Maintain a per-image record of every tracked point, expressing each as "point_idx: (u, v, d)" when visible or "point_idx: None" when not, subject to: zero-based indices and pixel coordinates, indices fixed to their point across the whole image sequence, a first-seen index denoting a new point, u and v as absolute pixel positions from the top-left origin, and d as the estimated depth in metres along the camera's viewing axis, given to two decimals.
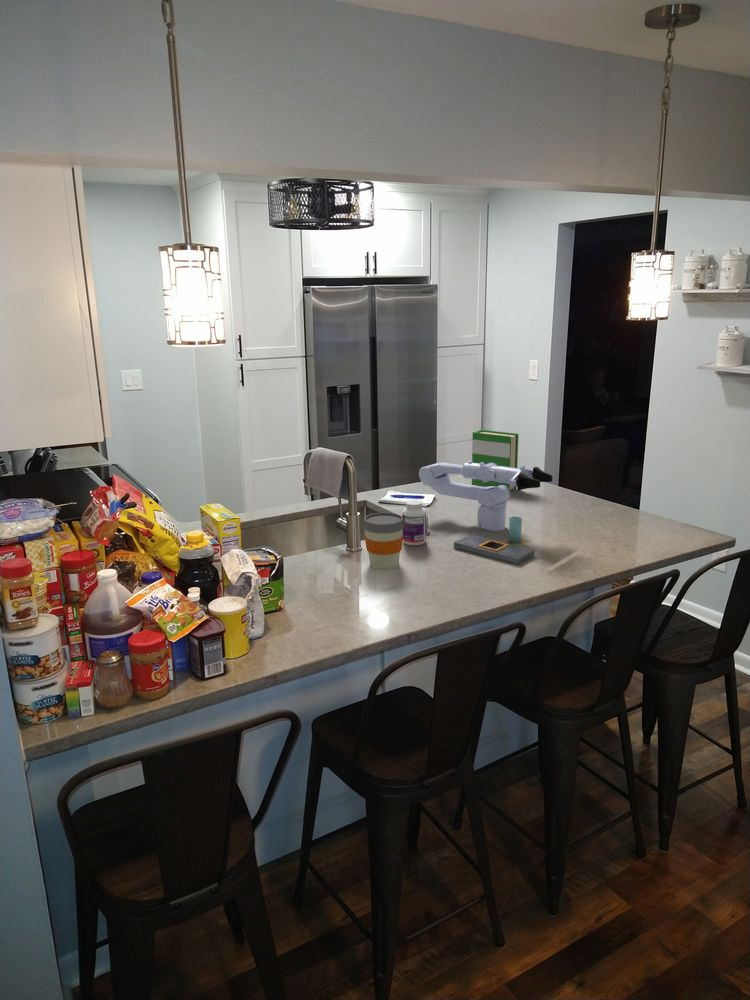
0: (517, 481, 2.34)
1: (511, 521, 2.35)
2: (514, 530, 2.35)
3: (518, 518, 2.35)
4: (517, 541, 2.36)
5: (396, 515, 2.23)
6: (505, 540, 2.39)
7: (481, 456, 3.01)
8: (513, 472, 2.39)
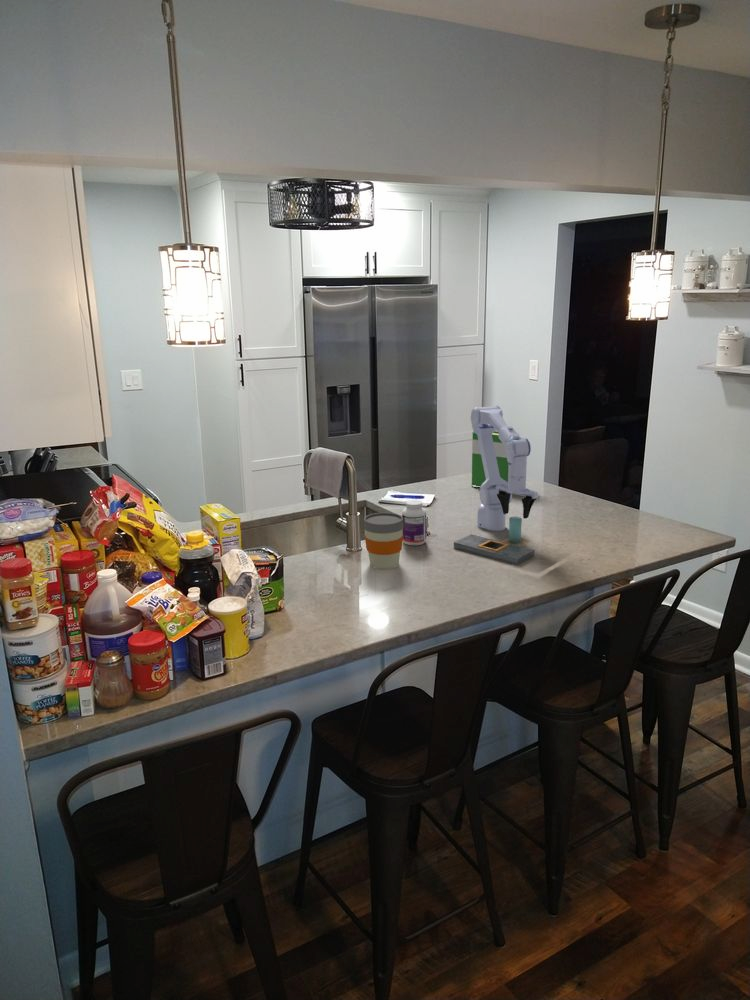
0: None
1: (511, 521, 2.35)
2: (514, 530, 2.35)
3: (518, 518, 2.35)
4: (517, 541, 2.36)
5: (396, 515, 2.23)
6: (505, 540, 2.39)
7: (481, 456, 3.01)
8: (508, 483, 2.32)
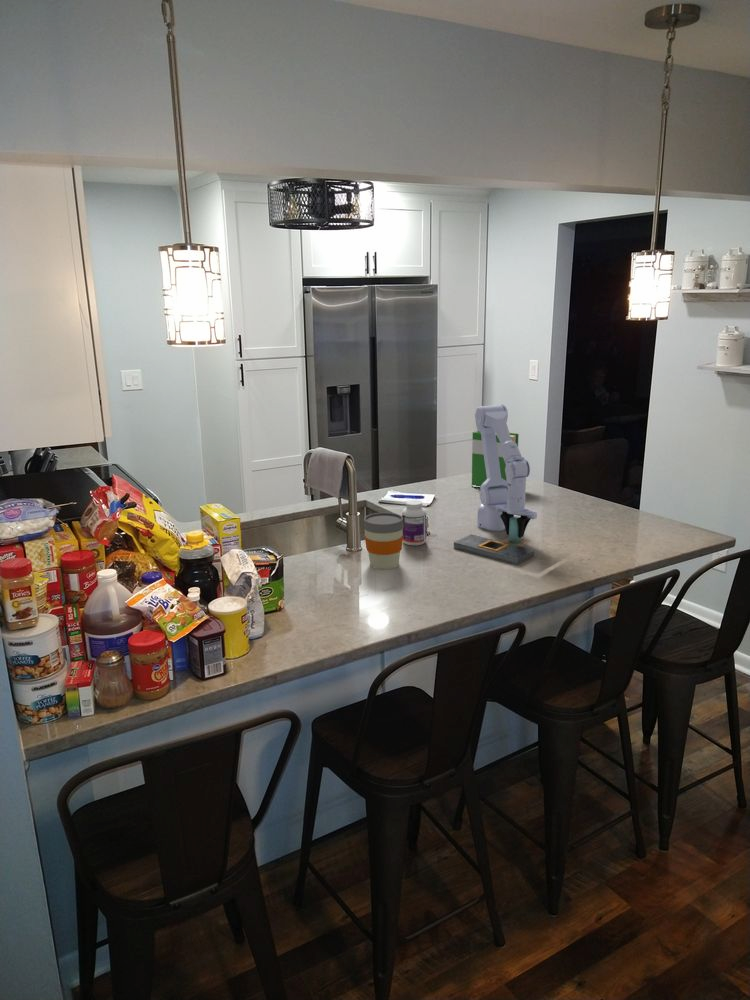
0: None
1: (511, 521, 2.35)
2: (514, 530, 2.35)
3: None
4: (517, 541, 2.36)
5: (396, 515, 2.23)
6: (505, 540, 2.39)
7: (481, 456, 3.01)
8: (507, 504, 2.34)
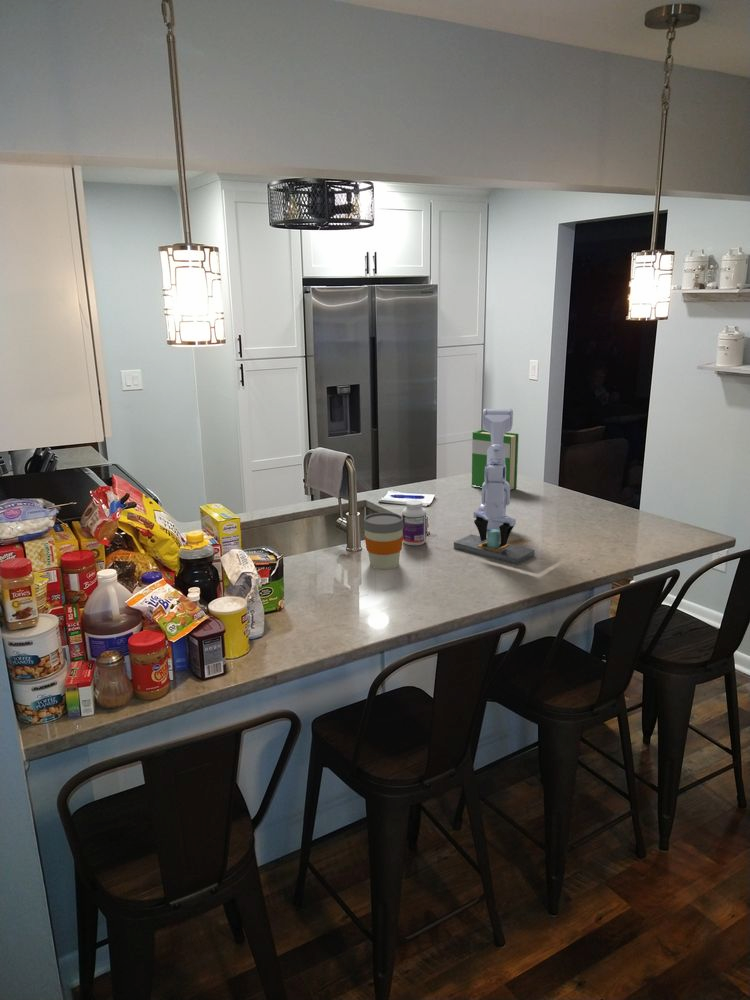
0: None
1: (489, 534, 2.26)
2: (492, 543, 2.26)
3: (496, 531, 2.26)
4: None
5: (396, 515, 2.23)
6: None
7: (481, 456, 3.01)
8: (485, 510, 2.24)
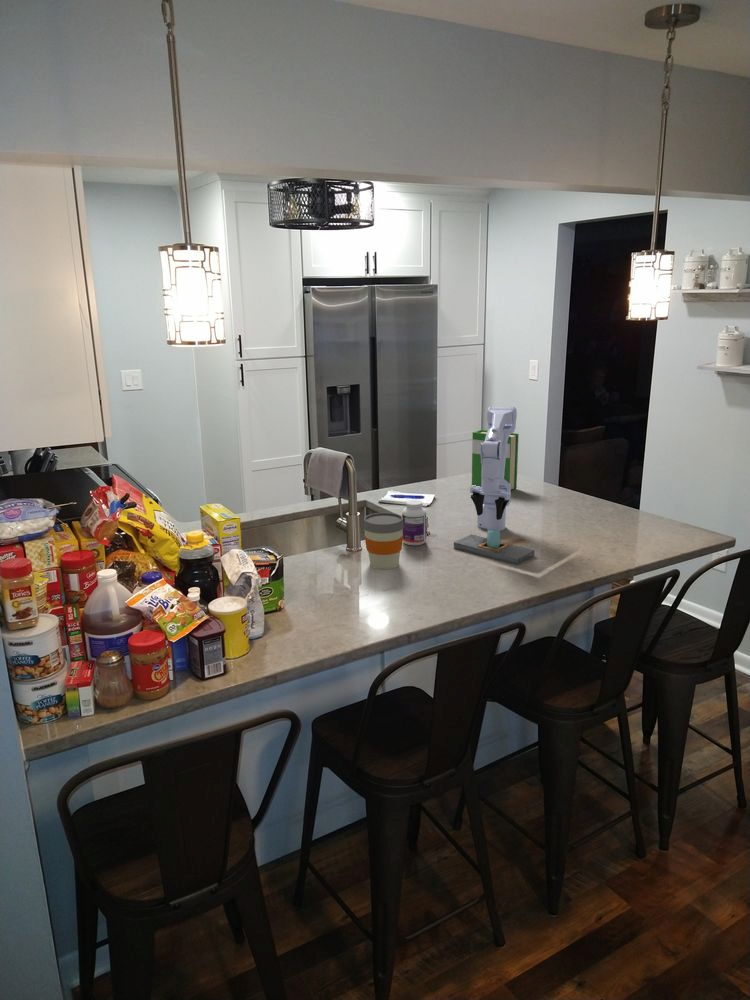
0: None
1: (489, 534, 2.26)
2: (492, 543, 2.26)
3: (496, 531, 2.26)
4: None
5: (396, 515, 2.23)
6: (505, 540, 2.39)
7: None
8: (481, 485, 2.33)
